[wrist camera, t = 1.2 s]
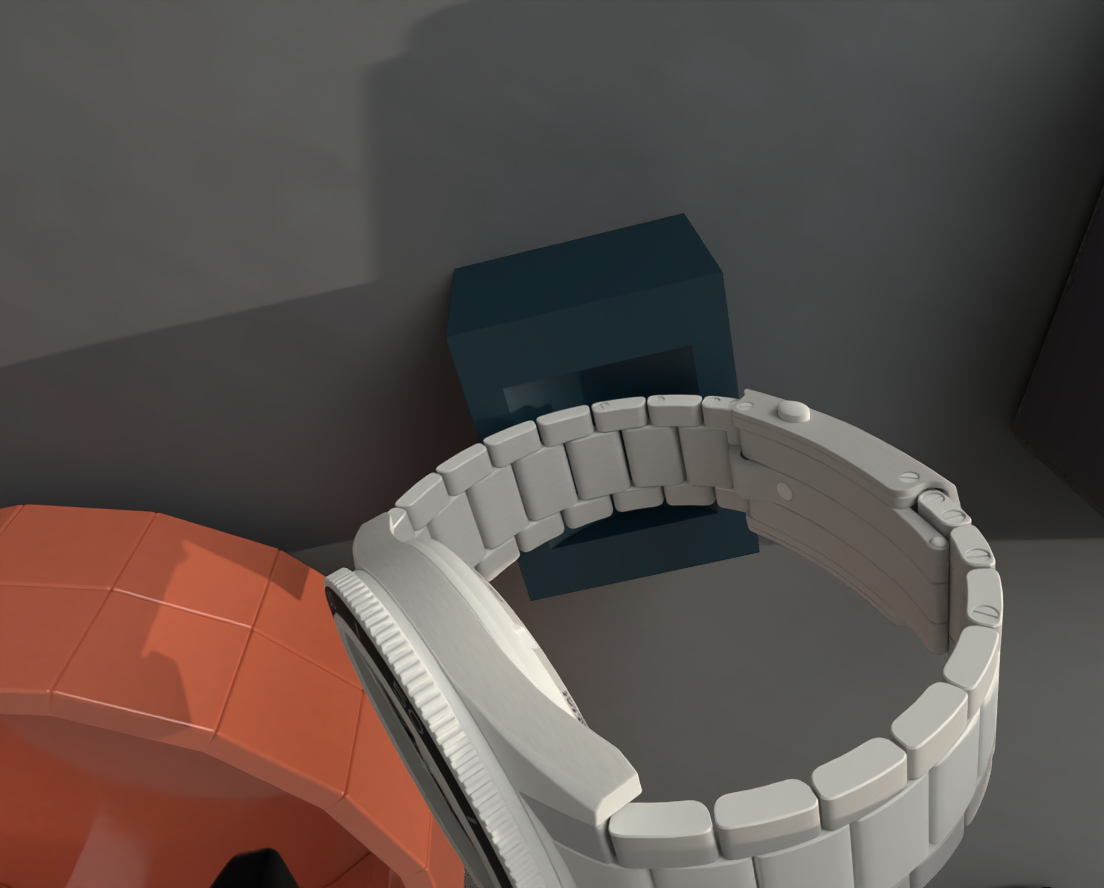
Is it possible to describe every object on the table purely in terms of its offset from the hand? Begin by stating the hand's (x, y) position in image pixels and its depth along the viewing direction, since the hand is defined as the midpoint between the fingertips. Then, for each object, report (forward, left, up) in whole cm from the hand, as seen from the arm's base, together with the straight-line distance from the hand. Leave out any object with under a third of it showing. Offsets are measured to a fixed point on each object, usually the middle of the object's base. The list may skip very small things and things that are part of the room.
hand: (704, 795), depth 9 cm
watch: (0, 0, -10) cm, 10 cm away
